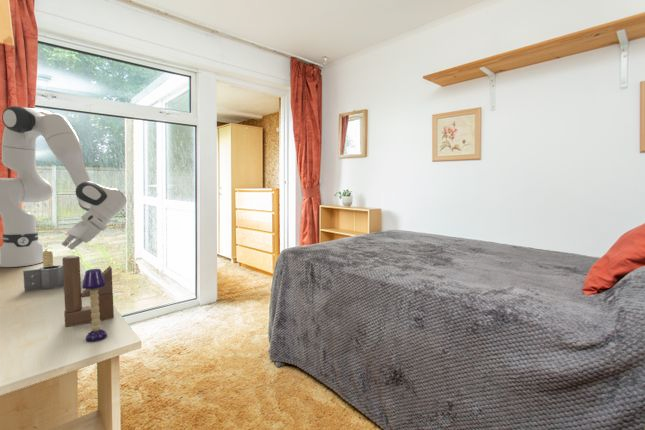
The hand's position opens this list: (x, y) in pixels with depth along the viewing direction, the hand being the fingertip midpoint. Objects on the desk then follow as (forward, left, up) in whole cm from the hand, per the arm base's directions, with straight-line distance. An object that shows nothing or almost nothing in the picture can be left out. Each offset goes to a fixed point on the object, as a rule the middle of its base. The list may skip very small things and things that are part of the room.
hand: (66, 247), depth 135 cm
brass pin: (0, -6, -11) cm, 13 cm away
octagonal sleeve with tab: (+15, -8, -11) cm, 20 cm away
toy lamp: (+73, -10, -12) cm, 75 cm away
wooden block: (+60, -8, -12) cm, 62 cm away
